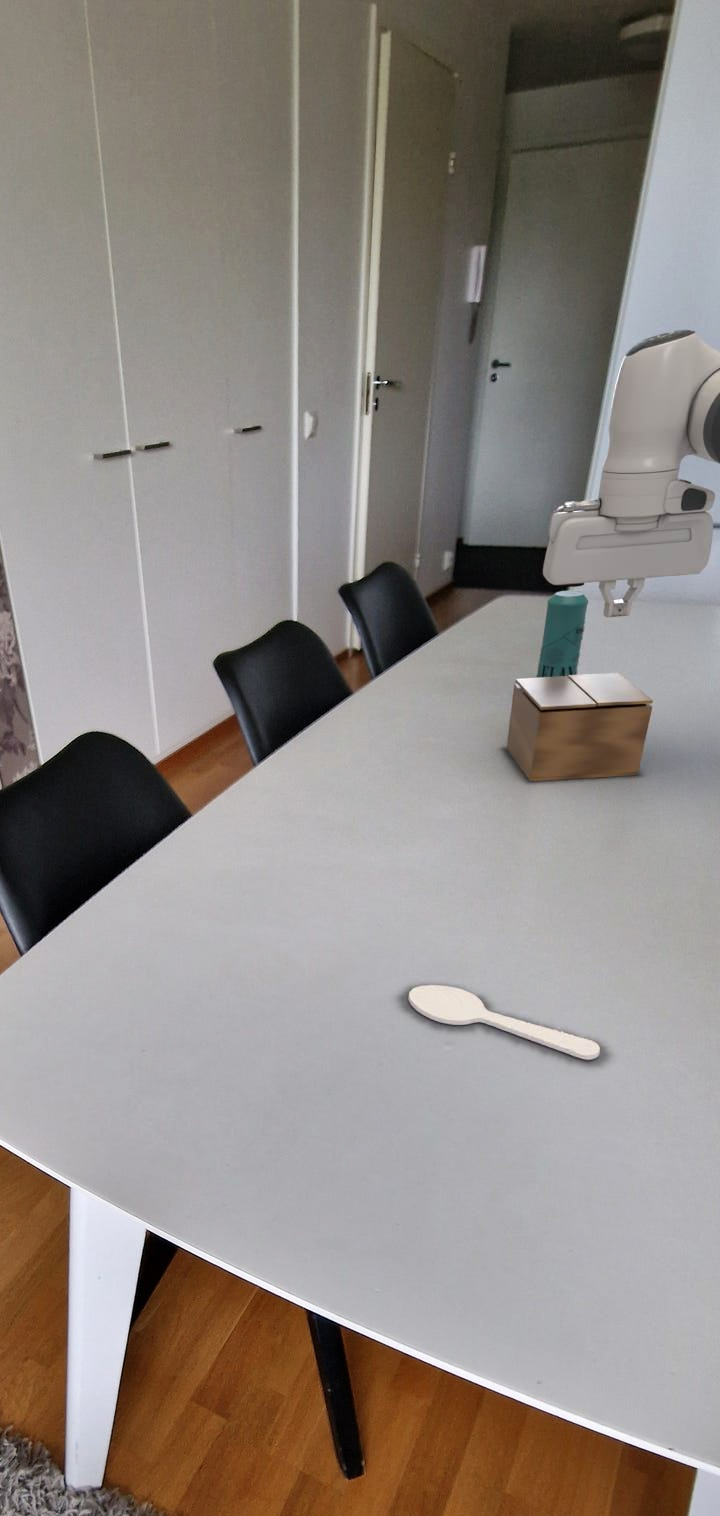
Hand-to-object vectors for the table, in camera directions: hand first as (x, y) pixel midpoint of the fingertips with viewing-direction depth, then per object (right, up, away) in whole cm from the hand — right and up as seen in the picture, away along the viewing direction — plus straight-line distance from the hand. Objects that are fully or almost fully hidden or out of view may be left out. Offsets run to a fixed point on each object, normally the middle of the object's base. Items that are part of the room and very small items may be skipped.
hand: (616, 615), depth 122 cm
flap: (+1, -8, +6) cm, 10 cm away
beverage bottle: (+3, +1, +35) cm, 35 cm away
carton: (-2, -16, +12) cm, 20 cm away
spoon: (-26, -54, -38) cm, 71 cm away
